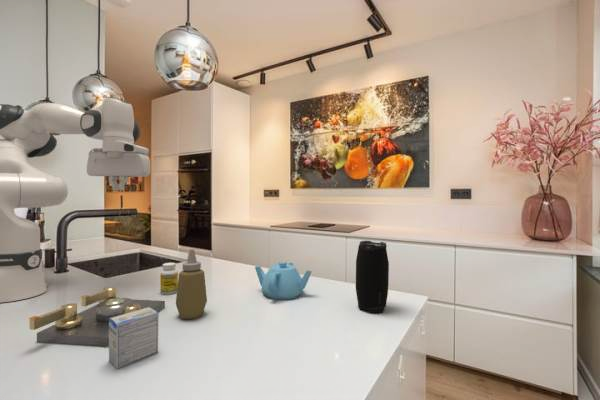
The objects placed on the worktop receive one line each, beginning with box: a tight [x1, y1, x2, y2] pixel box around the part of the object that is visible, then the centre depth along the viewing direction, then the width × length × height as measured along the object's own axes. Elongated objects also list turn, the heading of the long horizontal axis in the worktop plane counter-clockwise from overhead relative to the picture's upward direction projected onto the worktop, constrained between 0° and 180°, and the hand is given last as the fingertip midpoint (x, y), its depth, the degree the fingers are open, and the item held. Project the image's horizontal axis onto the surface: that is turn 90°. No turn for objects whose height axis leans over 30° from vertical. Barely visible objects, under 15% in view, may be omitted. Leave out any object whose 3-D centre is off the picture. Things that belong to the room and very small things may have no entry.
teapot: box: [254, 261, 313, 301], centre depth 99 cm, size 15×15×11 cm
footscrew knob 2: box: [81, 286, 120, 307], centre depth 79 cm, size 10×5×5 cm, turn 168°
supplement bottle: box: [160, 262, 179, 296], centre depth 99 cm, size 5×5×10 cm
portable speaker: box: [355, 240, 390, 315], centre depth 86 cm, size 9×9×20 cm
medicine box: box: [108, 307, 160, 370], centre depth 59 cm, size 8×4×9 cm, turn 141°
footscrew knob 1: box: [28, 302, 82, 331], centre depth 66 cm, size 10×5×5 cm, turn 168°
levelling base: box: [36, 297, 166, 348], centre depth 75 cm, size 17×22×6 cm
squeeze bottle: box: [175, 248, 208, 320], centre depth 80 cm, size 8×8×18 cm
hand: (118, 190), depth 97 cm, fingers closed
